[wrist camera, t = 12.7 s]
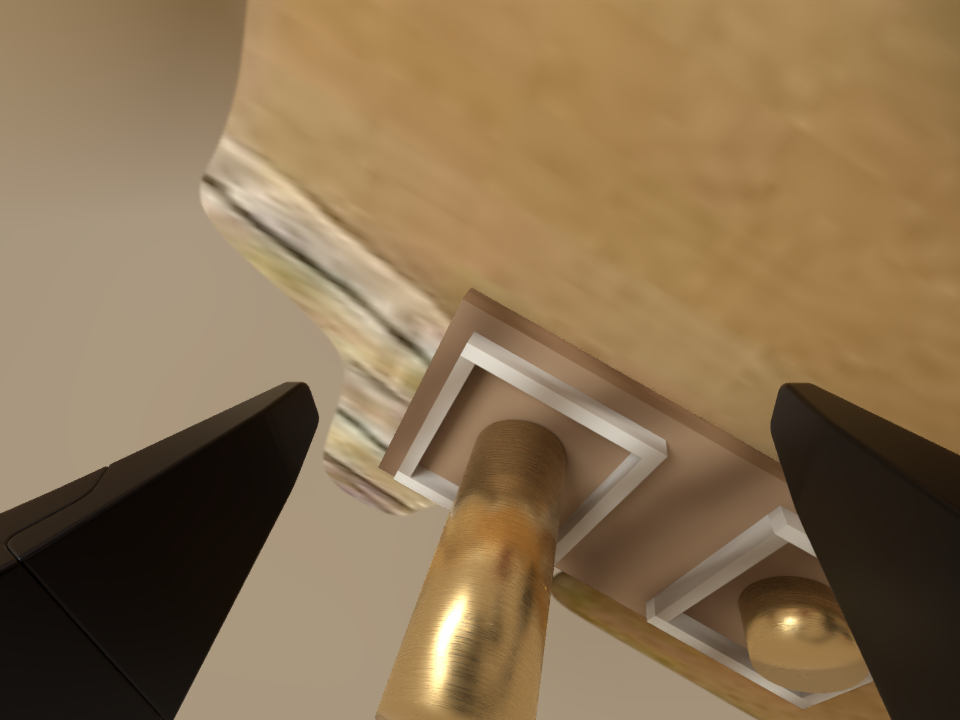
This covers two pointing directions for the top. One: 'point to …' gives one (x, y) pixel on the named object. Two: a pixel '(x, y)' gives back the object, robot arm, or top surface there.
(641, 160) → the top surface
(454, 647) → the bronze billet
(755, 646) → the short bronze billet
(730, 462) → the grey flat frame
